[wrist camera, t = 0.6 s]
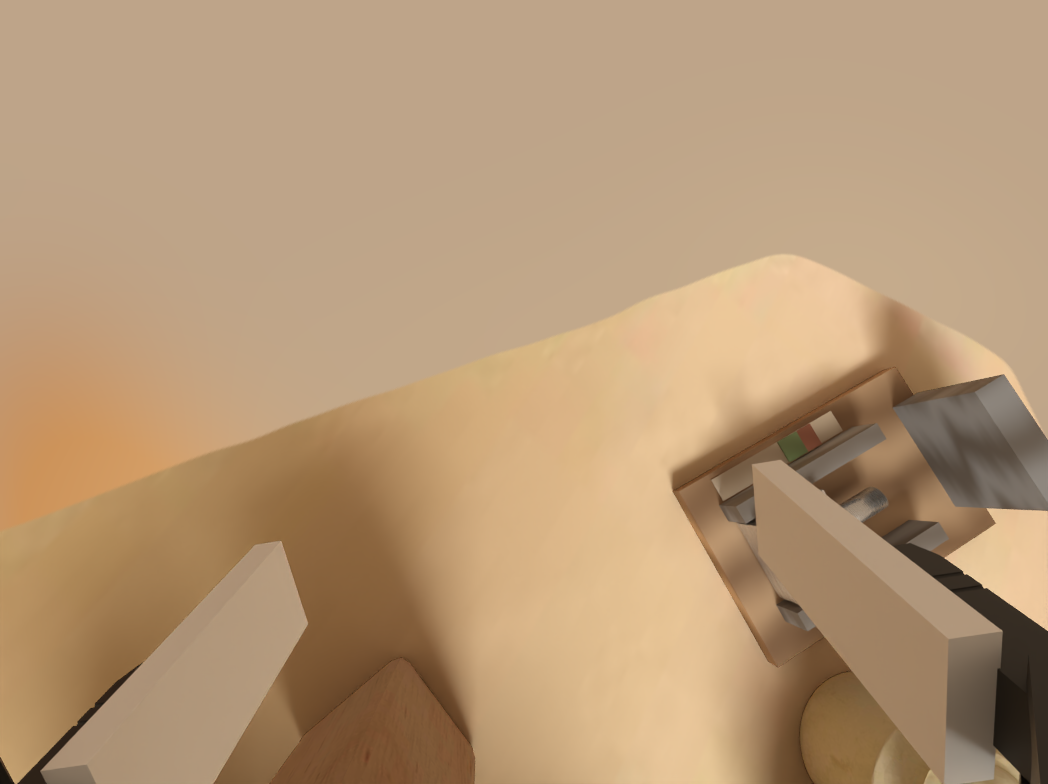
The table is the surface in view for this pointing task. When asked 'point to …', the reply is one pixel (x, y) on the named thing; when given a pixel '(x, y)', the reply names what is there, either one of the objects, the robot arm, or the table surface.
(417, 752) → the block
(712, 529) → the gauge bed
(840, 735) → the sugar bowl
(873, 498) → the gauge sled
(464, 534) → the table surface
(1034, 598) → the table surface
